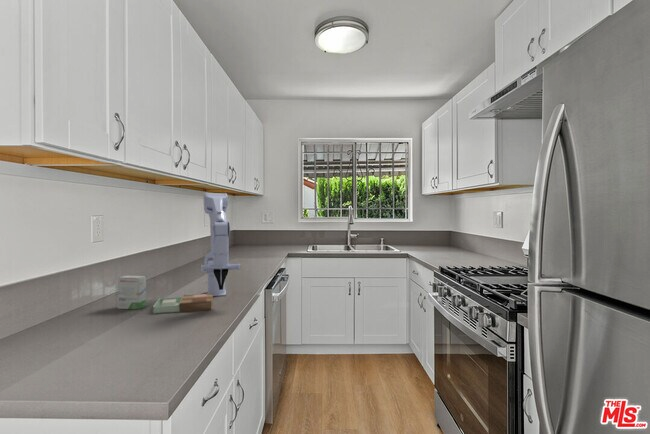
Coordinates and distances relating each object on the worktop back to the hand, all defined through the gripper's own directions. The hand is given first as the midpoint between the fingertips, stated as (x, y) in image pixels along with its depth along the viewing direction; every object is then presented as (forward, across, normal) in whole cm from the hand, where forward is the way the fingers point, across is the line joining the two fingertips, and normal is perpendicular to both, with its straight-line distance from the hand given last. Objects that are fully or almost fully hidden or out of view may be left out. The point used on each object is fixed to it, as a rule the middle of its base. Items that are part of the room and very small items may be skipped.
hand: (221, 289), depth 139 cm
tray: (+7, -19, +3) cm, 20 cm away
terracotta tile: (+4, -8, 0) cm, 8 cm away
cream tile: (+5, -19, +6) cm, 21 cm away
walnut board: (+7, -9, +3) cm, 12 cm away
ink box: (+7, -32, +7) cm, 34 cm away
